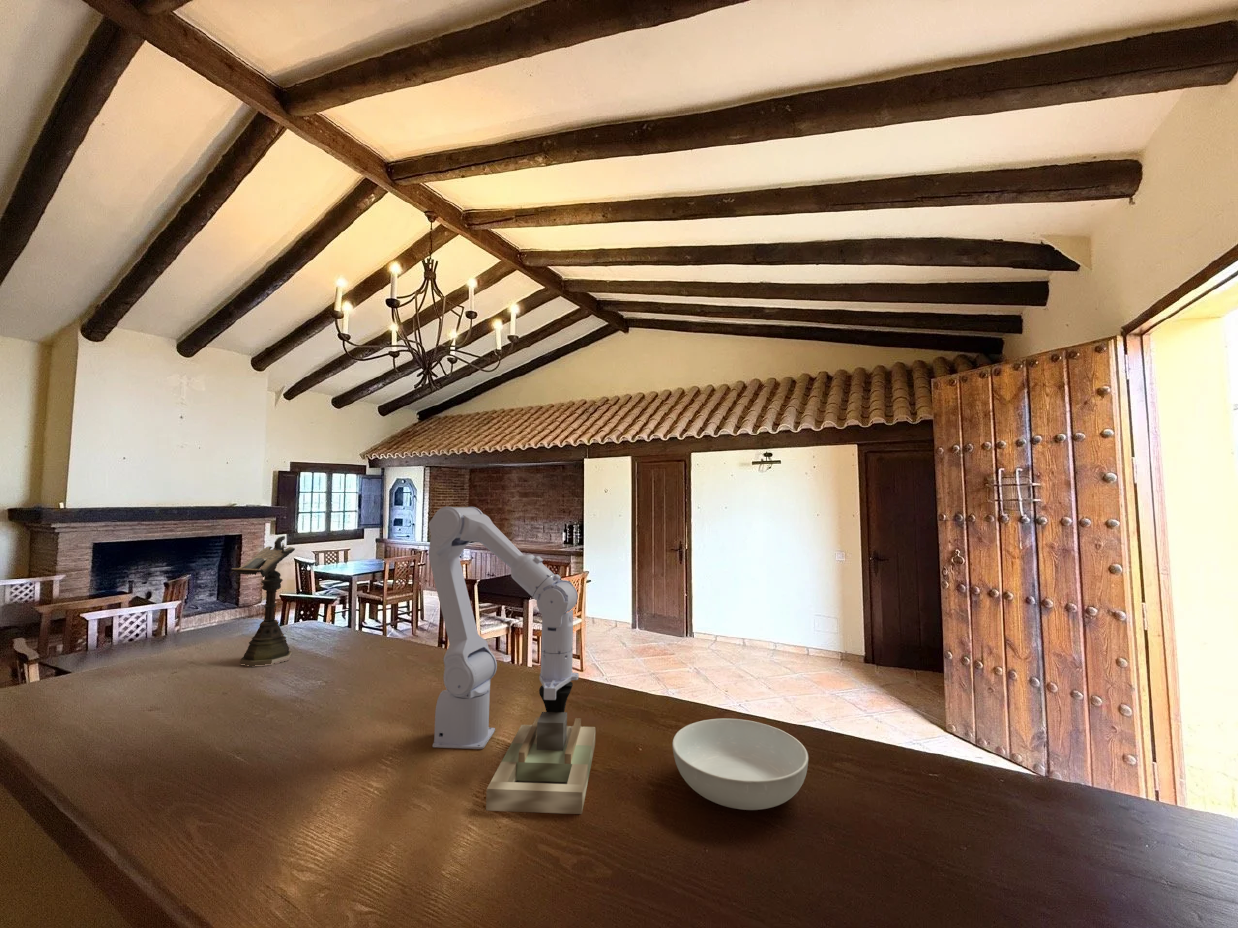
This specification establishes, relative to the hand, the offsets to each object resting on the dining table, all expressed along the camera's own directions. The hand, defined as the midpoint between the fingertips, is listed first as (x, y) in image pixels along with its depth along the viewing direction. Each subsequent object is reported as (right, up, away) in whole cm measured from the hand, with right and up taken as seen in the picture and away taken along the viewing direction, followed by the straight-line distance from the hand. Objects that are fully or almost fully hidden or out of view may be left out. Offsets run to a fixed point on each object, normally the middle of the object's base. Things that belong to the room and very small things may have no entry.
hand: (555, 726), depth 93 cm
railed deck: (0, -4, -8) cm, 8 cm away
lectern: (-87, -8, +48) cm, 100 cm away
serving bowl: (+30, -4, -12) cm, 33 cm away
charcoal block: (0, -1, -4) cm, 4 cm away
